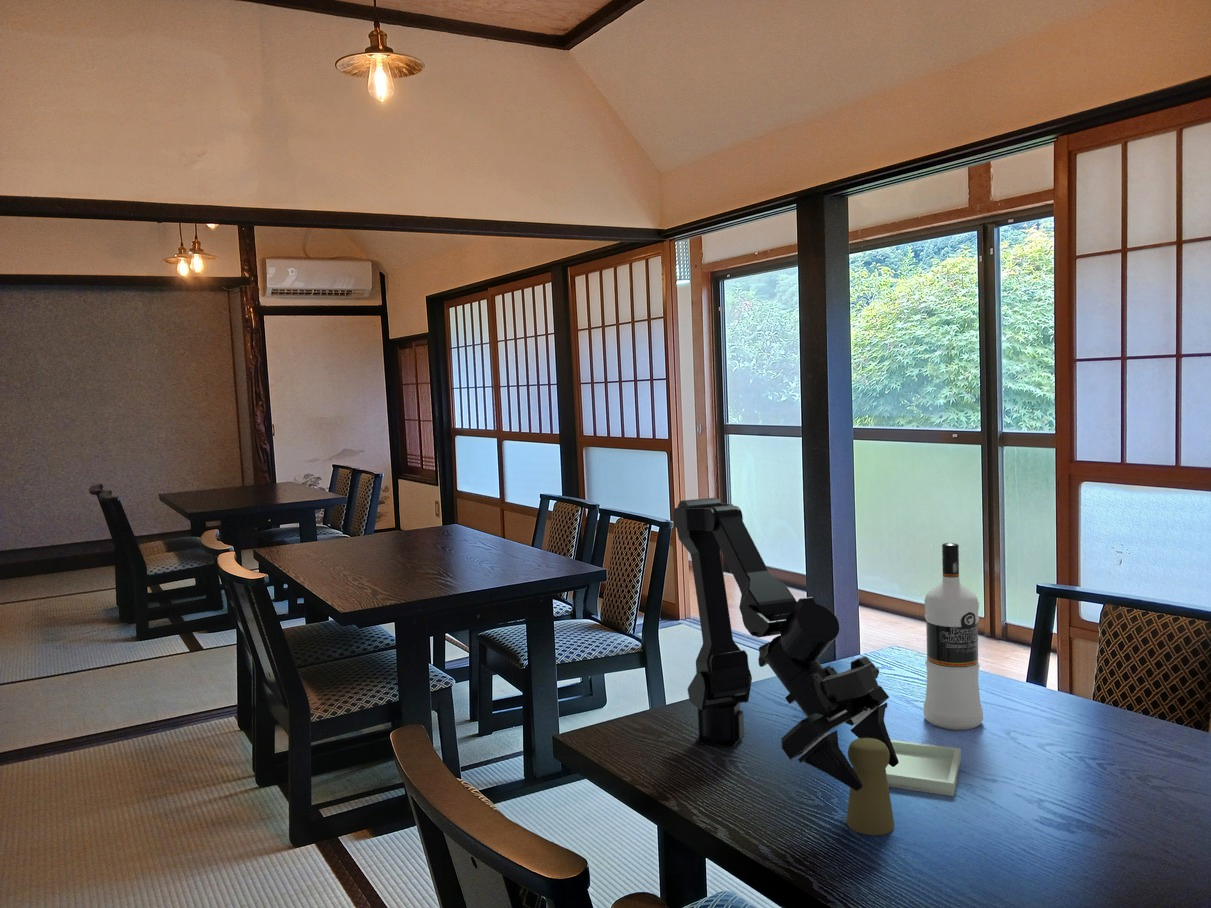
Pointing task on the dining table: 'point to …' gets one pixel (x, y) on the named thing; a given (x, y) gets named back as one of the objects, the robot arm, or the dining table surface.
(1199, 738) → the dining table surface
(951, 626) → the vodka
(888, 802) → the cork
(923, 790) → the tray
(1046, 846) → the dining table surface
